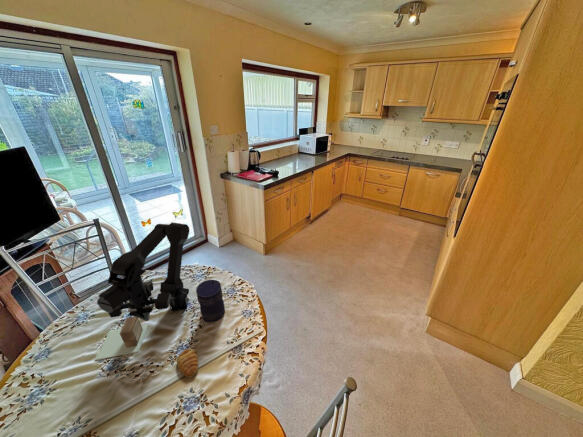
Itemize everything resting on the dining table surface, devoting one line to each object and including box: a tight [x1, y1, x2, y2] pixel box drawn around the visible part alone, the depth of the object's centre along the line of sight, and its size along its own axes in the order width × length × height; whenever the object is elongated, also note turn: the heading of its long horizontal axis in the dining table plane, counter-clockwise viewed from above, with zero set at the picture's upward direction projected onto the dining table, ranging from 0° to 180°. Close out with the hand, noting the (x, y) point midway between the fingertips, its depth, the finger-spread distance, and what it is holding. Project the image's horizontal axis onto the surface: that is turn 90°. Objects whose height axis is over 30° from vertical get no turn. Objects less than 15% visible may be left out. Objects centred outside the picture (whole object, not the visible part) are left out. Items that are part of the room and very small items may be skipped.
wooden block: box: [120, 316, 143, 348], centre depth 88 cm, size 4×7×8 cm, turn 13°
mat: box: [94, 323, 149, 361], centre depth 89 cm, size 14×12×1 cm
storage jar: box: [195, 279, 226, 324], centre depth 98 cm, size 10×10×15 cm
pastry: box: [176, 348, 199, 379], centre depth 81 cm, size 9×7×4 cm
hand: (147, 319), depth 88 cm, fingers closed
